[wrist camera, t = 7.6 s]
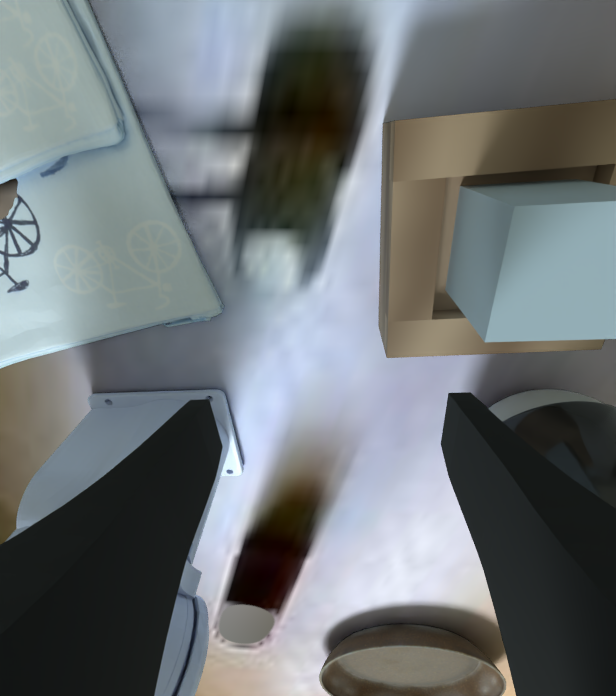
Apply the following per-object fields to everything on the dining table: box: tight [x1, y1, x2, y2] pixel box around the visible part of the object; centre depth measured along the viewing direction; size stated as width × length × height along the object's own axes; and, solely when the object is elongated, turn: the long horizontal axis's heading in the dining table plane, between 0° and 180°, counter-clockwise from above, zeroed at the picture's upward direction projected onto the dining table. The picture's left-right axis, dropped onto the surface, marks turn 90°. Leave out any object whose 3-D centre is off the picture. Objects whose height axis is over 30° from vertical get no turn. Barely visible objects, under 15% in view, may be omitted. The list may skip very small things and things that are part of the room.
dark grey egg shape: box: [488, 389, 616, 508], centre depth 17 cm, size 10×10×15 cm
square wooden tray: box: [379, 99, 616, 358], centre depth 16 cm, size 10×10×4 cm
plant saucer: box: [319, 624, 506, 696], centre depth 42 cm, size 21×21×3 cm
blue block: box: [445, 179, 616, 342], centre depth 13 cm, size 4×4×5 cm
